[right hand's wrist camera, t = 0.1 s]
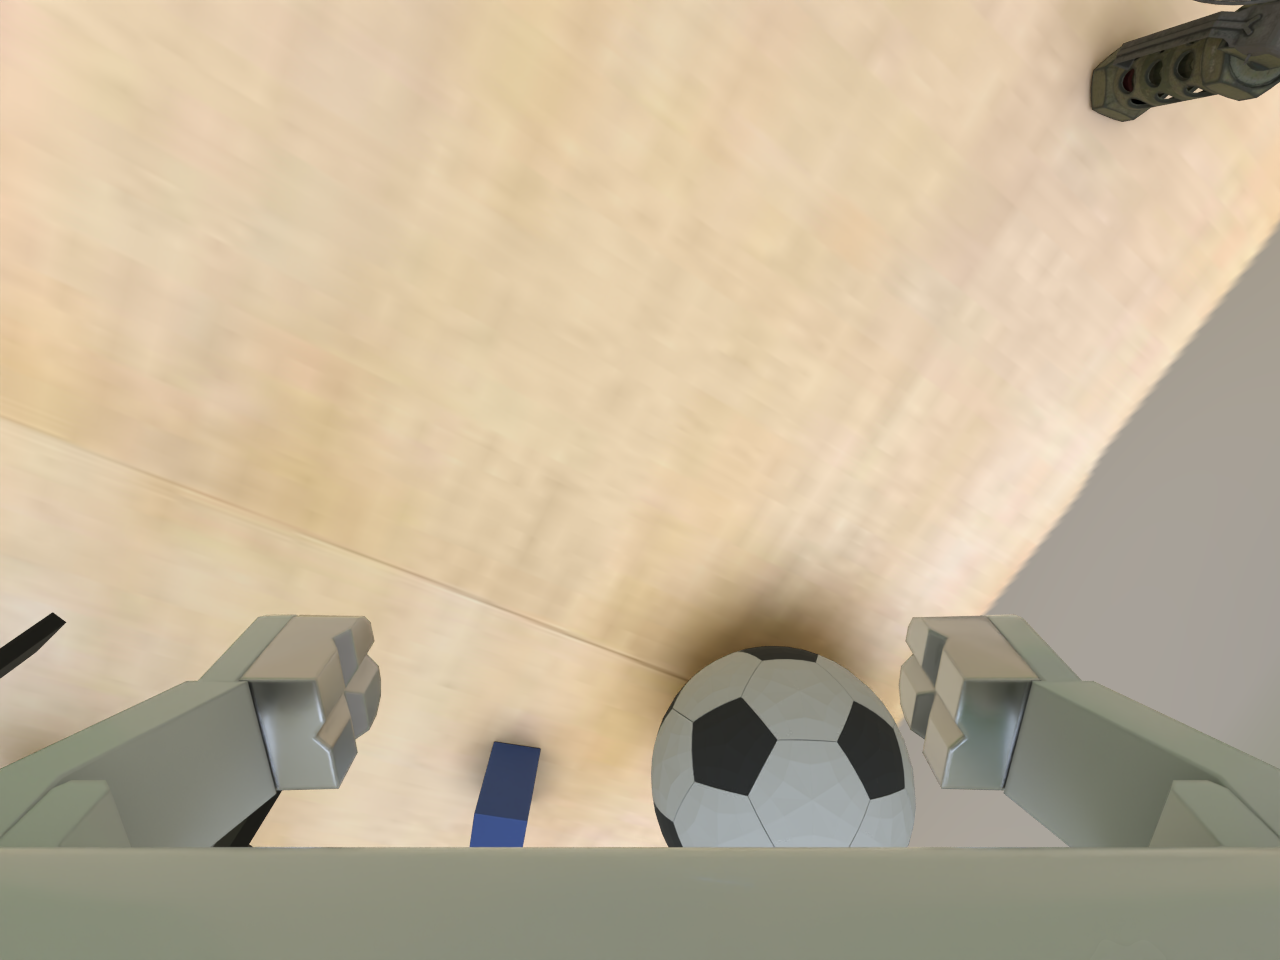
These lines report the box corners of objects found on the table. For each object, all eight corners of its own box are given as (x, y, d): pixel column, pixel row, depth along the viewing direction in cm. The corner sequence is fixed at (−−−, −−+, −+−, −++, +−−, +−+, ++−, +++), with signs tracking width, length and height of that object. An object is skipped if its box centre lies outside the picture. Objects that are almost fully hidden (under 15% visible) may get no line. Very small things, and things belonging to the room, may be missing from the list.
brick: (485, 796, 75) (465, 872, 66) (494, 741, 72) (474, 813, 63) (530, 803, 75) (516, 879, 66) (540, 748, 72) (527, 821, 64)
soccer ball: (801, 559, 64) (877, 725, 43) (904, 717, 70) (1012, 925, 50) (606, 668, 68) (592, 865, 48) (721, 806, 75) (751, 1031, 54)
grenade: (1192, 45, 48) (1414, -21, 35) (1144, 132, 51) (1336, 103, 37) (1083, -2, 47) (1267, -89, 34) (1039, 89, 49) (1195, 42, 36)
